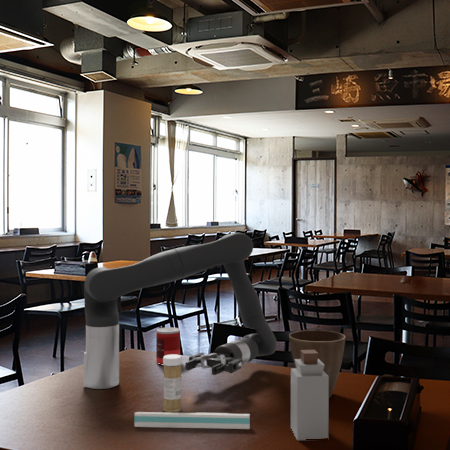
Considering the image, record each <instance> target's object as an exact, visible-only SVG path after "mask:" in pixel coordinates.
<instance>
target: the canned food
mask: <svg viewBox="0 0 450 450" xmlns="http://www.w3.org/2000/svg"><path fill="white" fill-rule="evenodd" d="M155 336H156V337H155V338H156V339H155V340H156V341H155V343H156V348H155V350H156V351H155V352H156V355H155V356H156V360H155V361H156V364H157V363H160V364H163V357H164V356H165V355H169V354H177V355H181V329H180V328H178V327H172V326H171V327H169V326H168V327H160V328H157V329H156V333H155Z"/></svg>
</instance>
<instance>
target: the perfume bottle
mask: <svg viewBox="0 0 450 450" xmlns="http://www.w3.org/2000/svg"><path fill="white" fill-rule="evenodd" d="M300 353H301V359H295V364H296V368H295V367H294V368H290V430H291V429H292V430H291V431H293V432H292V433H294V434H293V435H294V437H295V439H296V440H297V441H307V440H306V439H321V438H322V439H323V438H328V439H329V399H330V397H329V376H328V375H327V374H326V373H325V372H324V371H323V369H324V364H323V363H322V362H321V361H320V360H319V359H318V352H316V351H315V350H300Z"/></svg>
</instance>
